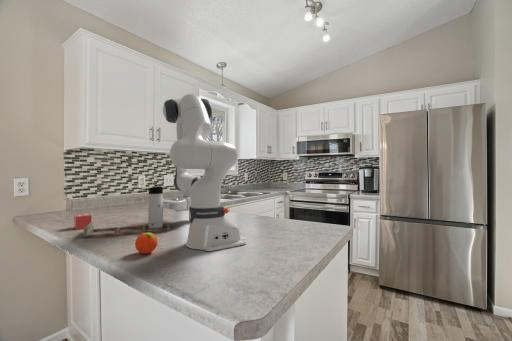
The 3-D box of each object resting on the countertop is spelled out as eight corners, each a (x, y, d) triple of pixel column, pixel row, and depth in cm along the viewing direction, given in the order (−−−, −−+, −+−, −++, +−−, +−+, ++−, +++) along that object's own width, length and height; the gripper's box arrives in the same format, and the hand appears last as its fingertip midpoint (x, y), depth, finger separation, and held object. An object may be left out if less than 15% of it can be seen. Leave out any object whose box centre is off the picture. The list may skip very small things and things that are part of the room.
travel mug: (153, 231, 112) (153, 187, 111) (145, 229, 116) (145, 186, 115) (166, 228, 116) (166, 186, 116) (158, 226, 120) (158, 185, 120)
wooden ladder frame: (168, 225, 124) (168, 217, 124) (170, 230, 113) (170, 221, 113) (90, 231, 111) (90, 222, 111) (83, 238, 100) (83, 228, 100)
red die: (89, 225, 122) (89, 213, 122) (91, 227, 118) (91, 214, 118) (74, 227, 118) (74, 214, 118) (76, 229, 114) (75, 216, 114)
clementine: (164, 252, 84) (164, 231, 84) (145, 258, 78) (145, 236, 78) (148, 248, 88) (148, 228, 88) (130, 254, 82) (130, 232, 82)
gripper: (167, 194, 132) (142, 197, 121) (192, 197, 120) (166, 200, 109) (167, 206, 132) (142, 210, 121) (192, 210, 120) (166, 214, 109)
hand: (154, 205), depth 115 cm, fingers open, 7 cm apart
